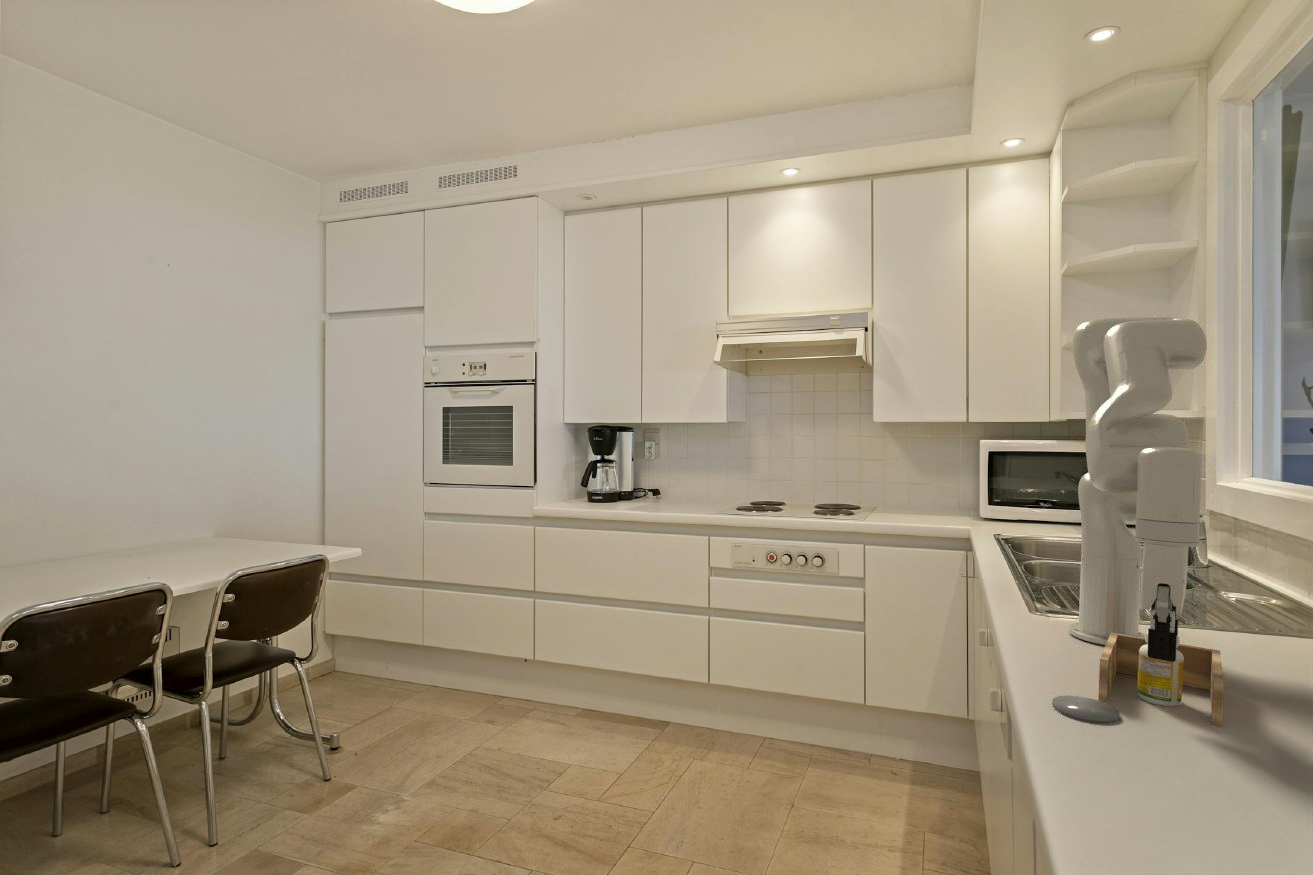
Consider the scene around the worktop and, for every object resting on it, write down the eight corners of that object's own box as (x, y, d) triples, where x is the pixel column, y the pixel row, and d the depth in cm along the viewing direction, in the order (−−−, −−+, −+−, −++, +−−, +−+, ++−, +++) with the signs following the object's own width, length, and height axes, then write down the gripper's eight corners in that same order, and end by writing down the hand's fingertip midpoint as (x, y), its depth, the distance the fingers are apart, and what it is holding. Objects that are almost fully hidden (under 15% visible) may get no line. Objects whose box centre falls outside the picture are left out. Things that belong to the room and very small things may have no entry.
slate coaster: (1056, 695, 105) (1057, 691, 105) (1121, 709, 100) (1122, 705, 100) (1047, 712, 99) (1048, 707, 99) (1116, 728, 94) (1116, 723, 94)
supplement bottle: (1156, 707, 101) (1159, 640, 101) (1127, 693, 107) (1130, 629, 107) (1191, 707, 102) (1194, 639, 102) (1161, 692, 107) (1164, 628, 107)
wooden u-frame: (1109, 668, 117) (1111, 632, 117) (1218, 689, 109) (1220, 650, 109) (1098, 699, 104) (1099, 658, 104) (1221, 726, 95) (1223, 681, 95)
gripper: (1139, 525, 113) (1135, 635, 113) (1131, 535, 99) (1127, 659, 99) (1199, 530, 108) (1195, 644, 108) (1199, 541, 94) (1195, 671, 94)
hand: (1162, 651), depth 104 cm, fingers open, 9 cm apart
